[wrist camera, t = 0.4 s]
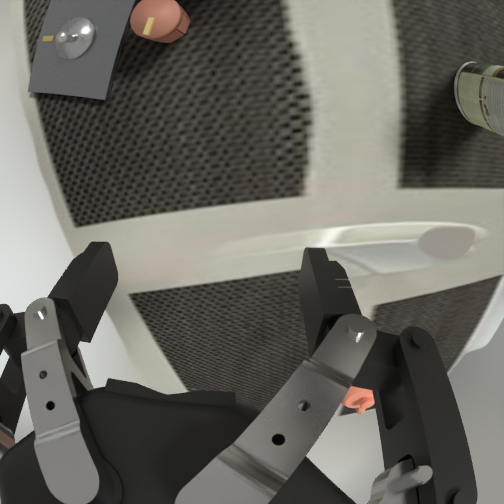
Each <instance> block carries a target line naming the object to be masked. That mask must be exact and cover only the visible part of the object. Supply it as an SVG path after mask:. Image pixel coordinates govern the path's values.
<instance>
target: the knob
mask: <svg viewBox="0 0 504 504" xmlns="http://www.w3.org/2000/svg"><path fill="white" fill-rule="evenodd" d="M189 23H190V18H189V17H188V15H187V13H186V12H185V10H184V9H183V8H182V7H181V6H180V5H179V4H178V3H177V2H176V1H175V0H142V1H141V2H140V3H138V4H137V6H136V7H135V8H134V10H133V12H132V14H131V18H130V24H131V27H132V29H133V31H134V32H135V33H136V34H137V35H139V36H141V37H144V38H147V39H150V40H153V41H158V42H164V43H169V42H170V43H172V42H173V41H175V40H177V39H179V38H180V37H182V36H184V34H186V31H187V28H188V26H189Z"/></svg>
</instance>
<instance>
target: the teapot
mask: <svg viewBox="0 0 504 504" xmlns="http://www.w3.org/2000/svg"><path fill="white" fill-rule="evenodd" d="M341 403H342V404H344V405H345V406H346V407H349V408H356V411H357V413H359V414H361V413H363V412H364V411H365V409H366V408H368V407H371V406H372V405H374V403H375V402H374V397H373V392H372V390H368V389H363V388H358V387H353V386H351V387H350V388H349V390H348V392H347V394H346V395H345V397H344V399H343V400H342V402H341Z"/></svg>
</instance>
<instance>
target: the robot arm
mask: <svg viewBox="0 0 504 504" xmlns="http://www.w3.org/2000/svg"><path fill="white" fill-rule="evenodd" d="M117 282H118V271H117V267H116V264H115V260H114V257H113V253H112V249H111V246H110V244H109V243H108V242H91V243H90V244H89V245H88V247H87V248H86V250H85V251H84V252H83V253H81V254H80V255H78V256H77V257H76V258H74V259H73V260H72V262H71V263H70V264H69V266H68V267H67V269H66V270H65V272H64V273H63V276H61V278H60V279H59V280H58V282H57V283H56V285H55V286H54V288H53V289H52V291H51V293H50V294H49V296H48V297H47V298H39V299H37V300H35V301H33V302H32V303H31V304H30V305H29V306H28V307H27V309H26V311H25V312H21V313H14V314H13V312H12V310H11V308H10V307H9V305H7V304H0V355H1V353H2V351H3V349H4V350H5V352H6V353H7V354H8V355H9V359H8V361H7V364H6V366H5V369H4V371H3V373H2V376H1V378H0V498H1V504H356V503H355V502H354V501H353V500H352V499H351V498H349V497H348V496H347V495H346V494H345V493H344V492H343V491H342V490H340V488H338V487H337V486H336V485H335V484H334V483H333V482H332V481H331V480H330V479H329V478H328V477H326V475H325V474H324V473H322V472H321V471H320V470H319V469H318V468H317V467H316V466H315V465H314V464H313V463H312V462H311V461H310V460H309V459H308V458H307V457H306V455H307V453H308V452H309V451H310V449H311V448H312V446H313V445H314V444H315V442H316V441H317V439H318V438H319V436H320V435H321V433H322V432H323V430H324V429H325V427H326V426H327V424H328V423H329V421H330V420H331V418H332V417H333V415H334V413H335V412H336V410H337V409H338V407H339V405H340V404H341V402H342V400H343V399H344V397H345V395H346V394H347V392H348V390H349V388H350V387H351V386H353V387H358V388H363V389H368V390H372V392H373V397H374V402H375V408H376V414H377V419H378V425H379V431H380V438H381V445H382V452H383V460H384V467H385V471H384V472H382V473H381V474H380V475H379V476H378V477H377V478H376V479H375V481H374V482H373V485H372V490H371V497H370V500H369V502H368V503H367V504H476V502H477V487H476V481H475V475H474V470H473V465H472V460H471V455H470V451H469V446H468V442H467V438H466V434H465V430H464V427H463V423H462V419H461V416H460V412H459V409H458V406H457V403H456V399H455V396H454V393H453V390H452V387H451V384H450V381H449V378H448V376H447V373H446V370H445V367H444V365H443V362H442V359H441V357H440V354H439V351H438V349H437V346H436V344H435V341H434V339H433V338H432V336H431V335H430V334H429V333H428V332H427V331H425V330H423V329H421V328H418V327H408V328H406V329H404V330H403V331H402V332H401V334H400V336H398V335H393V334H388V333H384V332H380V331H378V330H376V327H375V325H374V324H373V323H372V322H371V321H370V320H369V319H368V318H366V317H364V316H362V314H361V311H360V308H359V306H358V303H357V300H356V298H355V295H354V292H353V290H352V288H351V284H350V282H349V280H348V277H347V274H346V271H345V269H344V268H343V267H342V266H341V265H340V264H339V263H338V262H337V261H329V259H328V257H327V254H326V251H325V249H324V248H305V250H304V254H303V260H302V266H301V272H300V278H299V294H300V300H301V306H302V311H303V317H304V323H305V329H306V335H307V341H308V347H309V353H310V359H309V360H307V359H306V360H304V361H303V362H302V363H301V365H300V366H299V367H298V368H297V370H296V371H295V372H294V373H293V375H292V376H291V377H290V379H289V380H288V381H287V382H286V383H285V385H284V386H283V387H282V388H281V390H280V391H279V392H278V393H277V394H276V396H275V397H274V398H273V399H272V400H271V402H270V403H269V404H268V405H267V406H266V407H265V409H264V410H263V411H262V412H261V411H259V410H258V409H256V408H254V407H252V406H250V405H247V404H245V403H242V402H238V401H236V394H235V392H220V391H203V390H201V391H194V392H186V393H179V394H170V395H167V394H163V393H160V392H157V391H155V390H152V389H150V388H147V387H145V386H142V385H140V384H137V383H133V382H127V381H121V380H116V379H110V378H108V380H107V383H106V386H105V387H100V388H95V389H94V388H93V386H92V384H91V382H90V378H89V376H88V373H87V370H86V367H85V364H84V361H83V358H82V355H81V352H80V349H79V347H78V344H79V342H80V341H82V342H88V343H90V342H91V340H92V337H93V335H94V333H95V331H96V328H97V326H98V324H99V321H100V319H101V317H102V315H103V313H104V311H105V309H106V306H107V304H108V302H109V300H110V298H111V296H112V294H113V292H114V290H115V288H116V286H117ZM26 395H27V399H28V404H29V409H30V413H31V418H32V422H33V426H34V431H32V432H31V433H30V434H28V435H27V436H26V437H24V438H23V439H22V440H20V441H19V442H18V443H15V439H14V434H15V431H16V427H17V423H18V420H19V416H20V413H21V410H22V407H23V404H24V401H25V398H26Z"/></svg>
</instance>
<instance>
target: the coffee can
mask: <svg viewBox="0 0 504 504" xmlns="http://www.w3.org/2000/svg"><path fill="white" fill-rule="evenodd" d="M454 95H455V99H456V103H457V106H458V108H459V110H460V112H461V113H462V115H463V116H464V117H465V119H467V120H468V121H469V122H471V123H472V124H475V125H479V126H481V127H484V128H486V129H488V130H491V131H493V132H495V133H497V134H500V135H502V136H504V67H503V66H498V65H491V64H484V63H477V62H467V63H465V64H463V65H462V66H461V67H460V68H459V70H458V71H457V73H456V76H455V81H454Z"/></svg>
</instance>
